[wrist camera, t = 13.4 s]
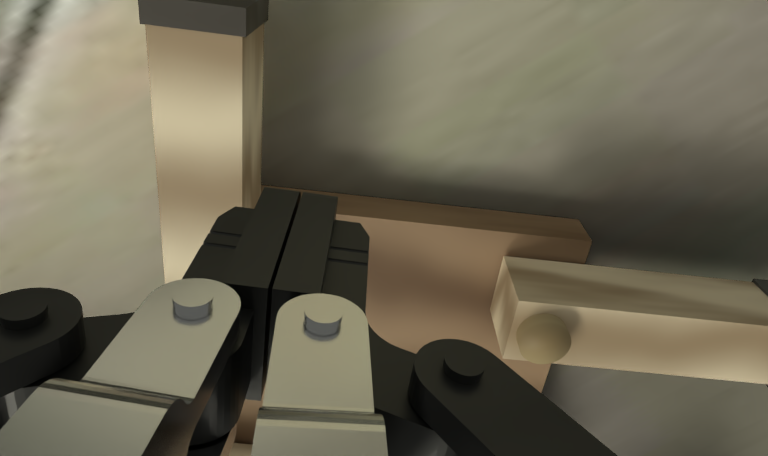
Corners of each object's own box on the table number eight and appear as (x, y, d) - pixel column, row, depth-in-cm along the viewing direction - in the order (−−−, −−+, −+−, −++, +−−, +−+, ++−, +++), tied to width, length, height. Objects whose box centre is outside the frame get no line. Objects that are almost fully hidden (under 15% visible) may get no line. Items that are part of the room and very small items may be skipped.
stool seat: (589, 568, 47) (622, 674, 41) (60, 526, 45) (3, 630, 39) (751, 238, 32) (846, 320, 25) (-34, 152, 30) (-156, 218, 23)
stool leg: (262, 281, 31) (241, 340, 26) (191, 274, 30) (158, 332, 26) (268, -5, 24) (241, 10, 19) (177, -17, 23) (129, -4, 19)
